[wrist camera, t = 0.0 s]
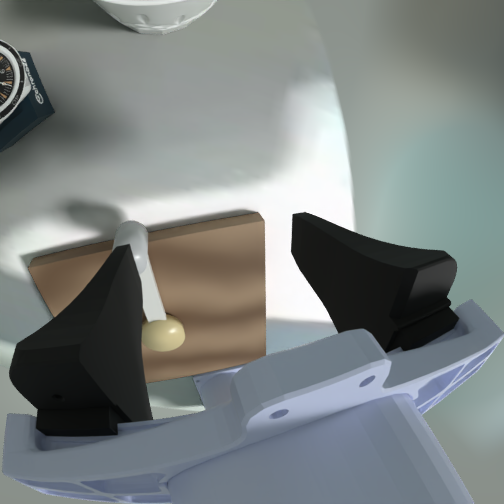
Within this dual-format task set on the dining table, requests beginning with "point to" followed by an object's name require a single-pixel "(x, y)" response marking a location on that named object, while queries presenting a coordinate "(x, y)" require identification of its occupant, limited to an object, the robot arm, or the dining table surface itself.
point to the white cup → (155, 13)
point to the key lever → (150, 292)
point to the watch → (19, 96)
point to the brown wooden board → (185, 291)
